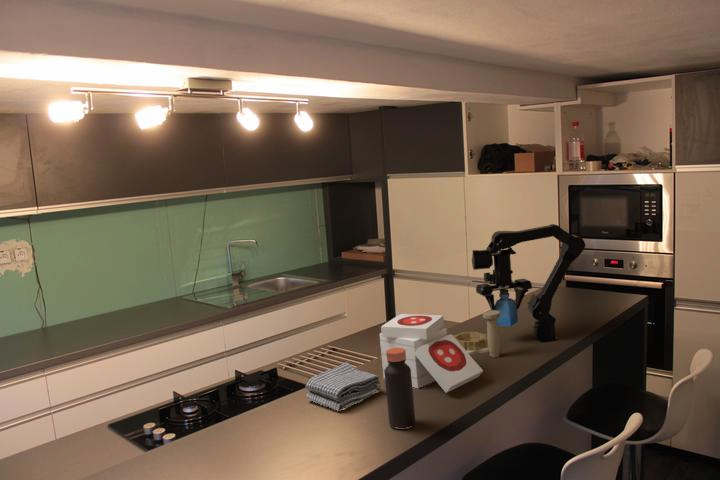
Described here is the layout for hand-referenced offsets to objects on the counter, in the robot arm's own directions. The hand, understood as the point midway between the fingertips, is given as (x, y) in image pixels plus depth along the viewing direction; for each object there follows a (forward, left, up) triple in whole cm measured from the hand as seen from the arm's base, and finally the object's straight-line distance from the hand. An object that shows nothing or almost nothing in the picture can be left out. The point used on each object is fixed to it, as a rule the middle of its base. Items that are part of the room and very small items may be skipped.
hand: (505, 310), depth 213 cm
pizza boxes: (+36, +23, -12) cm, 44 cm away
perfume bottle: (0, 0, -5) cm, 5 cm away
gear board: (+14, 0, -12) cm, 18 cm away
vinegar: (+52, +50, -12) cm, 73 cm away
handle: (+10, +12, -12) cm, 20 cm away
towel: (+63, +26, -12) cm, 69 cm away
